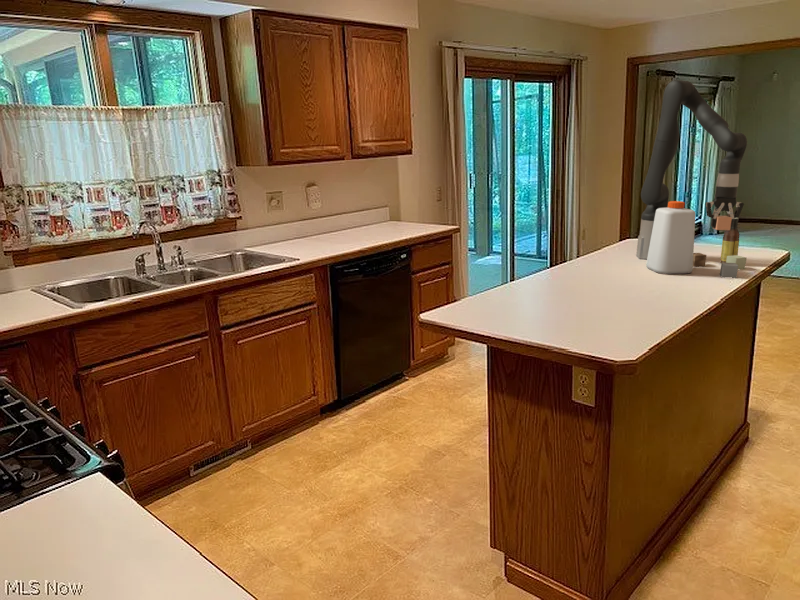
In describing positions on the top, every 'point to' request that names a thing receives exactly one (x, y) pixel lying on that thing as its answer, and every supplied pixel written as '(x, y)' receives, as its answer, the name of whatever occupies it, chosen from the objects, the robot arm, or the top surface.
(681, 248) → the plastic bottle
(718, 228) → the terracotta cube
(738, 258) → the sage cube
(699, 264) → the walnut cube
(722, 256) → the sauce bottle
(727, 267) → the slate cube
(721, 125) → the robot arm
